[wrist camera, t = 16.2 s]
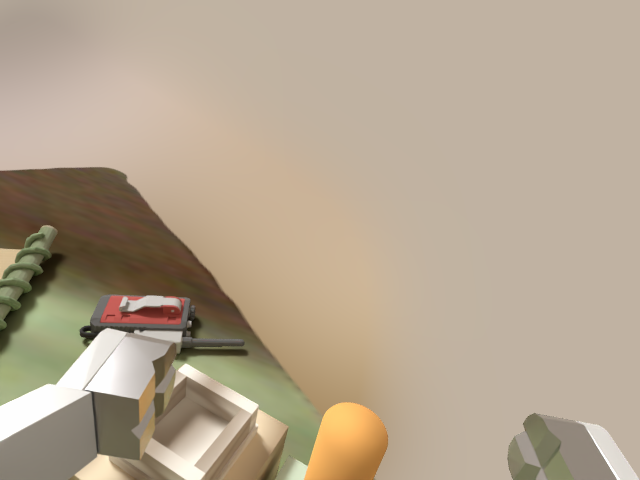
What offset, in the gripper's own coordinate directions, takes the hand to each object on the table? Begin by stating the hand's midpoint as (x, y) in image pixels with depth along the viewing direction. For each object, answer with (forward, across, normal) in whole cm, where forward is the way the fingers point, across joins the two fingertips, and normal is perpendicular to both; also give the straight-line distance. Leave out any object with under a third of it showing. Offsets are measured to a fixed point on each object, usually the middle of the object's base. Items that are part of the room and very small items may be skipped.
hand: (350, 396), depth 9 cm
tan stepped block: (+14, +8, +32) cm, 36 cm away
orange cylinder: (+9, -3, +26) cm, 28 cm away
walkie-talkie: (+34, +17, +32) cm, 50 cm away
